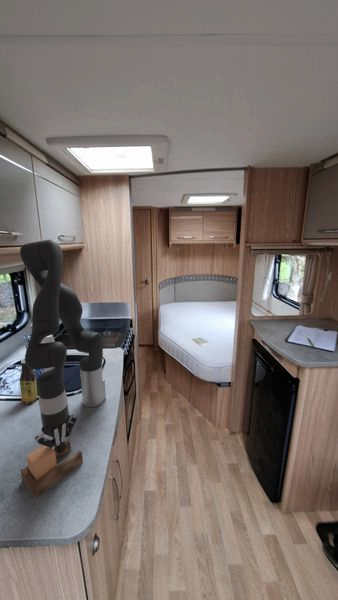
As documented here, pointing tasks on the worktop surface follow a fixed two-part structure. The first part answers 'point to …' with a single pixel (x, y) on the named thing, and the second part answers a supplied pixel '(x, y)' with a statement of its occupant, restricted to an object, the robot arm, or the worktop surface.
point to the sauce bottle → (28, 384)
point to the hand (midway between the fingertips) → (60, 451)
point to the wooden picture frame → (52, 472)
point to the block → (41, 462)
